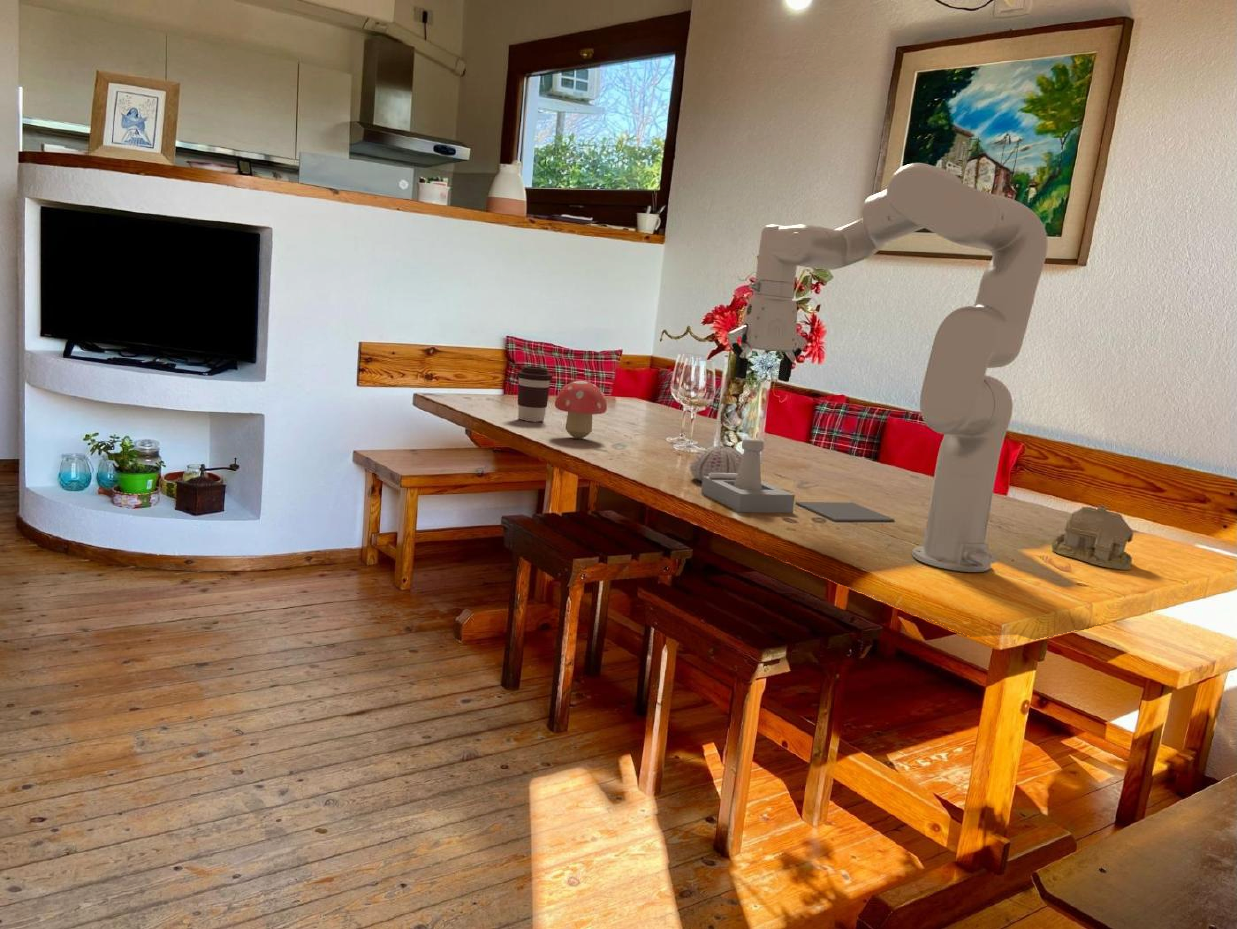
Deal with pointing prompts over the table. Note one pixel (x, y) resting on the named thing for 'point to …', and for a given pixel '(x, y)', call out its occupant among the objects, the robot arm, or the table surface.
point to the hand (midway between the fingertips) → (762, 379)
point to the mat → (843, 511)
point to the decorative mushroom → (580, 406)
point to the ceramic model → (1096, 538)
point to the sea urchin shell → (716, 461)
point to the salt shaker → (750, 465)
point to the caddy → (746, 495)
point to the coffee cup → (533, 392)
